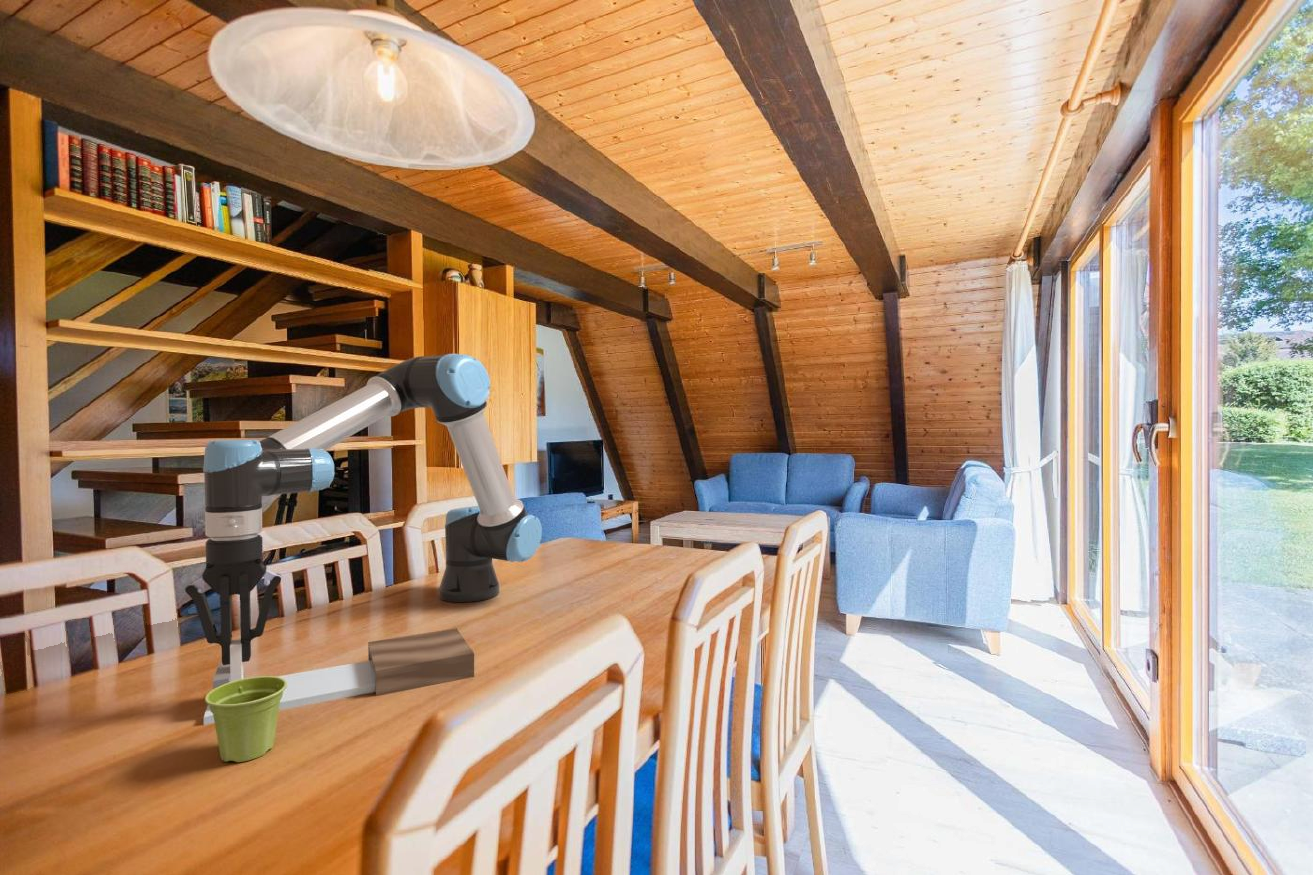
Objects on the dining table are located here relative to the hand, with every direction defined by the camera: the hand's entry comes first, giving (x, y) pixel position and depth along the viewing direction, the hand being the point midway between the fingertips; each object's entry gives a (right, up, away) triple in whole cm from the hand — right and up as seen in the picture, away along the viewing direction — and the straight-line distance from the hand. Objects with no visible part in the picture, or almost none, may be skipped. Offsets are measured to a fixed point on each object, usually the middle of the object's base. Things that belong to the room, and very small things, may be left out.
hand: (237, 682), depth 100 cm
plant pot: (+11, -4, -14) cm, 19 cm away
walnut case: (+24, -3, +14) cm, 28 cm away
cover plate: (+7, -4, +4) cm, 9 cm away
